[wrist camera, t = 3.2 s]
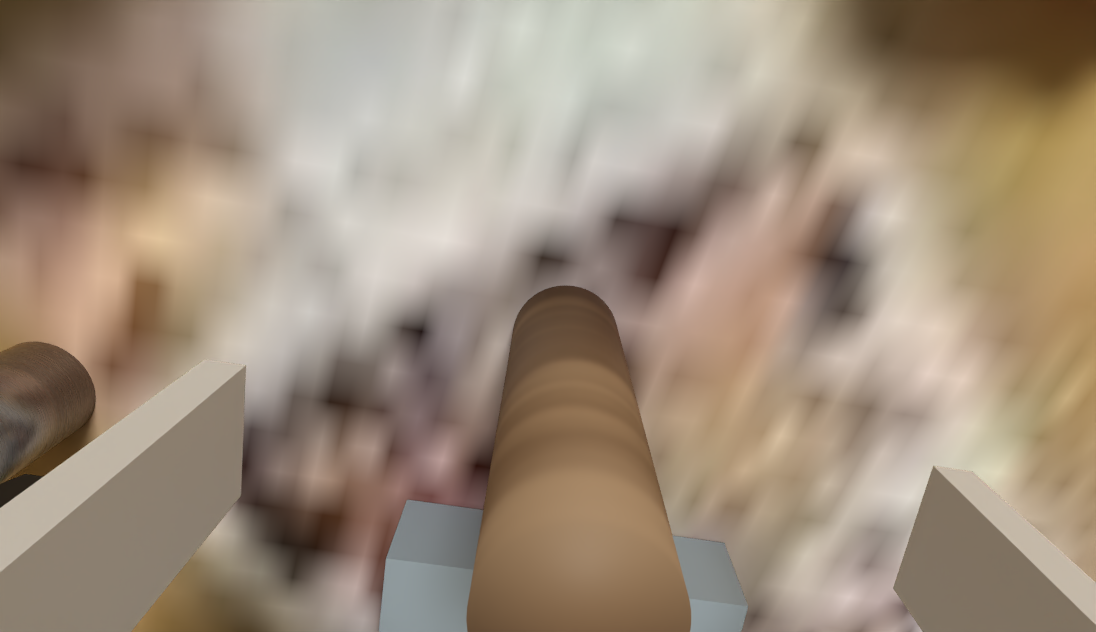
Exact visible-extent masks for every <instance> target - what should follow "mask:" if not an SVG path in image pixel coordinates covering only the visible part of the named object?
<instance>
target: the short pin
mask: <svg viewBox="0 0 1096 632" xmlns="http://www.w3.org/2000/svg"><path fill="white" fill-rule="evenodd" d="M94 405H95V390H94V386H93V383H92V380H91V378H90V376H89V374H88V372H87V371H86V369H85V368H84V367H83V365H82V364H81V363H80V362H79V361H78V360H77V359H76V358H75V357H74V356H72V355H71V354H69V353H68V352H66V351H65V350H63V349H61V348H59V347H57V346H54V345H51V344H47V343H42V342H26V343H21V344H18V345H15V346H13V347H11V348H9V349H7V350H4V351H2V352H0V484H1V483H4V482H5V481H7V480H8V479H9V478H11V477H12V476H14V475H15V474H16V473H18V472H19V471H21V470H22V469H23V468H25V467H26V466H28V465H29V464H30V463H32V462H33V461H35V460H36V459H37V458H39V457H40V456H42V455H43V454H44V453H46V452H47V451H49V450H50V449H51V448H53V447H54V446H56V445H57V444H58V443H60V442H61V441H63V440H64V439H65V438H67V437H68V436H70V435H71V434H72V433H74V432H75V431H76V430H78V429H79V428H81V427H82V426H83V425H84V424H85V423H86V422H87V421H88V420H89V418H90V416H91V415H92V412H93V409H94Z"/></svg>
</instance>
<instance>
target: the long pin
mask: <svg viewBox="0 0 1096 632" xmlns="http://www.w3.org/2000/svg"><path fill="white" fill-rule="evenodd" d="M466 622H467V632H690V628H691V607H690V600H689V596H688V592H687V589H686V585H685V581H684V577H683V574H682V570H681V566H680V562H679V558H678V555H677V551H676V547H675V543H674V540H673V536H672V532H671V528H670V525H669V521H668V517H667V513H666V510H665V506H664V502H663V498H662V495H661V491H660V487H659V483H658V480H657V476H656V472H655V468H654V465H653V461H652V457H651V453H650V449H649V446H648V442H647V438H646V434H645V431H644V427H643V423H642V419H641V416H640V412H639V408H638V404H637V401H636V397H635V393H634V389H633V386H632V382H631V378H630V374H629V371H628V367H627V363H626V359H625V355H624V352H623V348H622V344H621V340H620V337H619V333H618V329H617V325H616V322H615V319H614V316H613V314H612V312H611V310H610V309H609V307H608V306H607V305H606V304H605V302H604V301H603V300H601V299H600V298H599V297H598V296H597V295H595V294H594V293H592V292H590V291H588V290H586V289H583V288H580V287H575V286H556V287H552V288H548V289H545V290H543V291H541V292H539V293H537V294H536V295H534V296H533V297H532V298H531V299H529V300H528V301H527V302H526V303H525V304H524V306H523V307H522V309H521V310H520V312H519V314H518V316H517V318H516V321H515V325H514V329H513V335H512V341H511V347H510V353H509V359H508V365H507V371H506V377H505V383H504V389H503V395H502V401H501V407H500V413H499V419H498V425H497V431H496V437H495V443H494V449H493V455H492V461H491V467H490V473H489V479H488V485H487V491H486V497H485V503H484V509H483V515H482V521H481V527H480V533H479V539H478V545H477V551H476V557H475V563H474V569H473V575H472V581H471V587H470V593H469V599H468V605H467V616H466Z"/></svg>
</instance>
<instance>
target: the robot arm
mask: <svg viewBox="0 0 1096 632" xmlns="http://www.w3.org/2000/svg"><path fill="white" fill-rule="evenodd" d="M245 376H246V365H241V364H234V363H227V362H220V361H213V360H207V359H204V360H203V361H202V362H200V363H199V364H198V365H196V366H195V367H193V368H192V369H191V370H189V371H188V372H187V373H185V374H184V375H182V376H181V377H180V378H178V379H177V380H176V381H174V382H173V383H171V384H170V385H169V386H167V387H166V388H165V389H163V390H162V391H160V392H159V393H158V394H156V395H155V396H154V397H152V398H151V399H149V400H148V401H147V402H145V403H144V404H143V405H141V406H140V407H138V408H137V409H136V410H134V411H133V412H132V413H130V414H129V415H127V416H126V417H125V418H123V419H122V420H121V421H119V422H118V423H116V424H115V425H114V426H112V427H111V428H110V429H108V430H107V431H105V432H104V433H103V434H101V435H100V436H99V437H97V438H96V439H94V440H93V441H92V442H90V443H89V444H88V445H86V446H85V447H83V448H82V449H81V450H79V451H78V452H77V453H75V454H74V455H72V456H71V457H70V458H68V459H67V460H66V461H64V462H63V463H62V464H60V465H59V466H57V467H56V468H55V469H53V470H52V471H51V472H49V473H48V474H46V475H45V476H44V477H43V476H36V475H29V474H24V475H22V476H19V477H16V478H14V479H11V480H9V481H6V482H4V483H1V484H0V632H131V631H132V630H133V629H134V627H135V626H136V625H137V624H138V622H139V621H140V620H141V619H142V618H143V616H144V615H145V614H146V613H147V611H148V610H149V609H150V608H151V606H152V605H153V604H154V603H155V601H156V600H157V599H158V598H159V596H160V595H161V594H162V593H163V592H164V590H165V589H166V588H167V587H168V585H169V584H170V583H171V582H172V580H173V579H174V578H175V577H176V575H177V574H178V573H179V572H180V570H181V569H182V568H183V567H184V566H185V564H186V563H187V562H188V561H189V559H190V558H191V557H192V556H193V554H194V553H195V552H196V551H197V549H198V548H199V547H200V546H201V545H202V543H203V542H204V541H205V540H206V538H207V537H208V536H209V535H210V533H211V532H212V531H213V530H214V528H215V527H216V526H217V525H218V523H219V522H220V521H221V520H222V519H223V517H224V516H225V515H226V514H227V512H228V511H229V510H230V509H231V507H232V506H233V505H234V504H235V502H236V501H237V500H238V499H239V497H240V496H241V479H242V453H243V428H244V402H245ZM893 589H894V590H895V592H896V593H897V595H898V596H899V597H900V599H901V600H902V602H903V603H904V605H905V606H906V608H907V609H908V611H909V612H910V614H911V615H912V617H913V618H914V619H915V621H916V622H917V624H918V625H919V627H920V628H921V630H922V631H923V632H1096V582H1095V581H1093V580H1092V579H1091V578H1090V577H1089V576H1088V575H1087V574H1086V573H1085V572H1083V571H1082V570H1081V569H1080V568H1079V567H1078V566H1077V565H1076V564H1075V563H1073V562H1072V561H1071V560H1070V559H1069V558H1068V557H1067V556H1066V555H1065V554H1063V553H1062V552H1061V551H1060V550H1059V549H1058V548H1057V547H1056V546H1055V545H1054V544H1052V543H1051V542H1050V541H1049V540H1048V539H1047V538H1046V537H1045V536H1044V535H1042V534H1041V533H1040V532H1039V531H1038V530H1037V529H1036V528H1035V527H1034V526H1032V525H1031V524H1030V523H1029V522H1028V521H1027V520H1026V519H1025V518H1024V517H1022V516H1021V515H1020V514H1019V513H1018V512H1017V511H1016V510H1015V509H1014V508H1012V507H1011V506H1010V505H1009V504H1008V503H1007V502H1006V501H1005V500H1004V499H1002V498H1001V497H1000V496H999V495H998V494H997V493H996V492H995V491H994V490H992V489H991V488H990V487H989V486H988V485H987V484H986V483H985V482H984V481H982V480H981V479H980V478H979V477H978V476H977V475H976V474H975V473H974V472H973V471H966V470H959V469H952V468H945V467H938V466H933V469H932V472H931V475H930V478H929V481H928V484H927V487H926V490H925V493H924V496H923V499H922V502H921V505H920V508H919V511H918V514H917V517H916V520H915V523H914V526H913V529H912V532H911V535H910V538H909V542H908V545H907V548H906V551H905V554H904V557H903V560H902V563H901V566H900V569H899V572H898V575H897V578H896V581H895V584H894V587H893Z"/></svg>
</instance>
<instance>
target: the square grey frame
mask: <svg viewBox="0 0 1096 632" xmlns="http://www.w3.org/2000/svg"><path fill="white" fill-rule="evenodd" d="M482 515H483V510H479V509H472V508H465V507H457V506H450V505H443V504H435V503H428V502H421V501H413V500H407V501H406V504H405V507H404V510H403V513H402V515H401V518H400V521H399V524H398V527H397V529H396V532H395V535H394V538H393V541H392V543H391V546H390V549H389V552H388V555H387V557H386V565H385V575H384V585H383V595H382V605H381V615H380V625H379V632H467V622H466V616H467V605H468V599H469V593H470V587H471V581H472V575H473V569H474V563H475V557H476V551H477V545H478V539H479V533H480V527H481V521H482ZM673 540H674V543H675V547H676V551H677V555H678V558H679V562H680V566H681V570H682V574H683V577H684V581H685V585H686V589H687V592H688V596H689V600H690V607H691V628H690V632H741V631H742V627H743V624H744V620H745V616H746V613H747V609H748V605H747V602H746V599H745V597H744V594H743V591H742V589H741V586H740V583H739V581H738V578H737V575H736V573H735V570H734V567H733V565H732V562H731V559H730V557H729V554H728V552H727V549H726V546H725V544H724V543H721V542H714V541H707V540H699V539H692V538H685V537H677V536H673Z"/></svg>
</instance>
